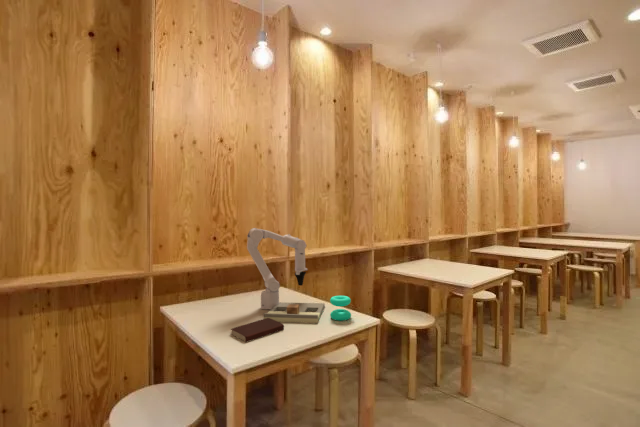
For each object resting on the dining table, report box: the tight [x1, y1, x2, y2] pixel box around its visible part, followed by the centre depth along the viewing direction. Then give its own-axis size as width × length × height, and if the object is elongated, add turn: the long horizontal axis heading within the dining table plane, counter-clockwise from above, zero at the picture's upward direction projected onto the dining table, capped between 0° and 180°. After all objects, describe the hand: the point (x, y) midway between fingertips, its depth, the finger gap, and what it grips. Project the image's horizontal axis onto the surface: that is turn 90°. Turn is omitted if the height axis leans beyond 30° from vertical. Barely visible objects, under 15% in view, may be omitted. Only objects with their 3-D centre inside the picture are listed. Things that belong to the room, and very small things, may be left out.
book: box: [230, 318, 285, 343], centre depth 145 cm, size 12×19×3 cm, turn 134°
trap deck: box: [262, 301, 326, 324], centre depth 170 cm, size 26×25×4 cm
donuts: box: [329, 295, 352, 322], centre depth 162 cm, size 10×10×10 cm
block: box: [287, 304, 299, 314], centre depth 163 cm, size 5×5×4 cm
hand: (300, 285), depth 187 cm, fingers closed
